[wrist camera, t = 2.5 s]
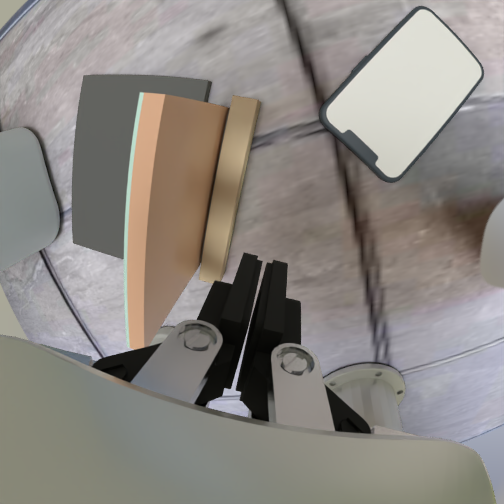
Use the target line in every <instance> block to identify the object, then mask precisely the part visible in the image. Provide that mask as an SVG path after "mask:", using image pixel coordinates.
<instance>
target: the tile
mask: <svg viewBox="0 0 504 504" xmlns="http://www.w3.org/2000/svg"><path fill="white" fill-rule="evenodd" d="M228 109H229V108H228V107H224V106H220V105H216V104H211V103H207V102H202V101H198V100H193V99H188V98H183V97H178V96H172V95H166V94H156V93H143V92H140V95H139V100H138V106H137V112H136V118H135V124H134V131H133V138H132V146H131V154H130V163H129V172H128V183H127V195H126V210H125V231H124V305H125V325H126V340H127V347H129V348H132V349H134V350H136V349H140V348H144V347H147V346H149V345H150V343H151V342H152V340H153V338H154V337H155V335H156V333H157V332H158V330H159V329H160V327H161V325H162V324H163V322H164V321H165V319H166V317H167V316H168V314H169V313H170V311H171V309H172V308H173V306H174V305H175V303H176V301H177V300H178V298H179V297H180V295H181V293H182V292H183V290H184V289H185V287H186V286H187V284H188V282H189V281H190V279H191V278H192V276H193V275H194V273H195V272H196V270H197V269H198V267H199V265H200V261H201V254H202V248H203V242H204V235H205V229H206V223H207V217H208V211H209V206H210V200H211V194H212V189H213V183H214V178H215V173H216V167H217V162H218V157H219V152H220V147H221V142H222V137H223V132H224V128H225V123H226V118H227V113H228Z"/></svg>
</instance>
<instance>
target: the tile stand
mask: <svg viewBox="0 0 504 504" xmlns="http://www.w3.org/2000/svg"><path fill="white" fill-rule="evenodd" d="M260 105H261V102H260V101H259V100H256V99H251V98H245V97H240V96H234V95H233V97H232V101H231V106H230V108H229V109H228V113H227V118H226V123H225V128H224V132H223V137H222V142H221V147H220V152H219V157H218V162H217V167H216V173H215V178H214V183H213V189H212V194H211V200H210V206H209V211H208V217H207V223H206V229H205V235H204V242H203V248H202V254H201V261H200V263H201V268H200V275H199V280H202V281H206V282H209V283H214V281H215V280H217V281H221V280H222V277H223V275H224V273H225V267H226V262H227V257H228V252H229V247H230V243H231V238H232V233H233V228H234V223H235V218H236V213H237V209H238V204H239V199H240V194H241V190H242V185H243V180H244V176H245V171H246V167H247V162H248V158H249V153H250V149H251V144H252V140H253V135H254V131H255V126H256V122H257V118H258V113H259V109H260Z"/></svg>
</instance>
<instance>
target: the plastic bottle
mask: <svg viewBox="0 0 504 504" xmlns="http://www.w3.org/2000/svg"><path fill="white" fill-rule="evenodd" d="M59 224H60V215H59V209H58V205H57V202H56V199H55V196H54V192H53V189H52V186H51V183H50V179H49V176H48V173H47V169H46V165H45V162H44V158H43V154H42V150H41V146H40V144H39V141H38V139H37V138H36V136H35V135H34V134H33V133H32V132H31V131H30V130H28V129H26V128H22V127H18V128H14V129H10V130H7V131H3V132H0V272H2V271H4V270H5V269H7V268H9V267H11V266H12V265H14V264H16V263H18V262H19V261H21V260H23V259H25V258H27V257H28V256H30V255H32V254H34V253H36V252H38V251H40V250H41V249H43V248H45V247H47V246H49V245H50V244H51V243H52V242H53V241H54V239H55V238H56V236H57V233H58V230H59Z"/></svg>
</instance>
